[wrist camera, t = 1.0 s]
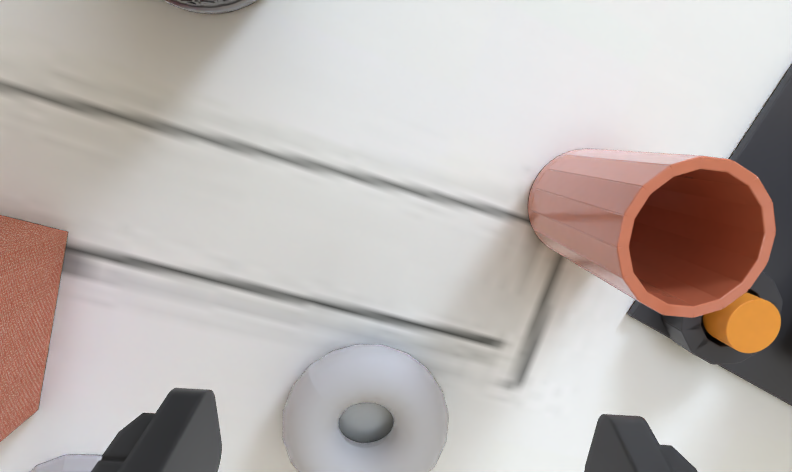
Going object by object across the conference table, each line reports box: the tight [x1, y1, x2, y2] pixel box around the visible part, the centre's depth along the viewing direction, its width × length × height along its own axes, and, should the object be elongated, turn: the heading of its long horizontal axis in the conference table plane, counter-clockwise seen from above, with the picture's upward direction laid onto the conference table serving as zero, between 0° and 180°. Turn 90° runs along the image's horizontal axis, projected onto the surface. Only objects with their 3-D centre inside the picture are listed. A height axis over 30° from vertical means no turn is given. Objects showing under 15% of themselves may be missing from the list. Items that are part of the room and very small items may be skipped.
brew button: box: [703, 292, 781, 353], centre depth 28 cm, size 3×3×2 cm
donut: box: [283, 344, 449, 472], centre depth 29 cm, size 10×4×10 cm
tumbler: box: [528, 149, 776, 318], centre depth 24 cm, size 6×6×10 cm
